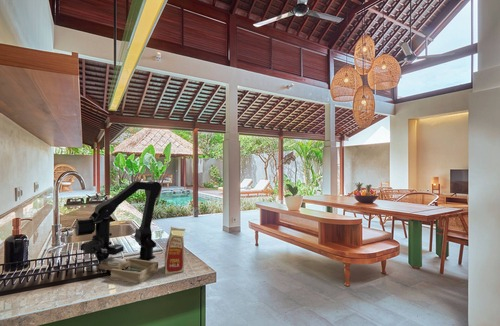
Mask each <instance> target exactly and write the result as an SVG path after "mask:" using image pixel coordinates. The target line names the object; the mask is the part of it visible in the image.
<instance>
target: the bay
mask: <svg viewBox="0 0 500 326" xmlns="http://www.w3.org/2000/svg"><path fill="white" fill-rule="evenodd" d="M129 261H131V264H130V265H129V268H128V269H132V270H138V271H141V272H137V271H130V270H119V269H111V270H110V274H111V275H110V280H116V281H122V282H126V281H127V283H132V282H133V284H139V283H140V284H142V283H143V282H145V281H146V280H147V279H149V278H150V277H151V276H153V275H154V274H156V273H157V272H158V271H159V262H158V261H152V260H149V261H146V260H139V259H137V258H130V259H129Z"/></svg>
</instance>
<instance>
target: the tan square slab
mask: <svg viewBox="0 0 500 326" xmlns="http://www.w3.org/2000/svg"><path fill="white" fill-rule="evenodd" d="M98 264H99V263H98ZM130 264H131V261H130V260H126V258H119V257H118V258H117V257H113V256H108V257H107V258H106V259H104V260H102V261H101V264H99V266H98V269H99V272H101V271H102V272H104V273H106V271H111V269H119V270H122V269H124V268H125V269H129V268H130Z"/></svg>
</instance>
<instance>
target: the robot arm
mask: <svg viewBox="0 0 500 326" xmlns="http://www.w3.org/2000/svg"><path fill="white" fill-rule="evenodd" d="M139 190H141V191H142V190H143V191H144V194H145V202H144V207H143V213H142V218H141V223H140V226H139V228H136V229H134V232H135V233H134V236H133V237H134V240H135V241H136V243H138V245H139V246H140V247H139V249H140V250H139V257H138V258H136V259H139V260H146V261H152V259H154V258H156V255H154V248H156V245H157V242H156V241H154V240H153V237H152V236H153V233H152V229H151V227H152V221H153V215H154V210H155V205H156V204H155V203H156V200H157V198H158V197H159V195H160V192H161V190H162V185H161V183H160V182H159V181H154V180H149V181H147V182H146V181H138V180H134V181H132V182H131V184H129V185H128V186H126V187H125V188H124V189H122V190H121V191H119V192H118V193H117V194H115V196H113V197H111V198H109V199H107V200H105V201H103V202H101V203H99V204H97V205H96V206H95V207H94V211H93V212H92V214H91V215H90V216H89V218H86V219H77V220H76V223H75V226H74V233H75V236H76V237H81V236H87V235H92V234H93V233H94V235H92V239H90V240H89V241H85V242H83V243H82V244H81V245H80V251H83V252H84V253H85V254H90V255H94V256H95V258H96V260H97V262H98V264H101V261H102V260H104V259H106V258H108V257H110V256H111V255H113V256H115V255H117V254H119V253H122V252H124V249H125V248H124V245H123V244H117V243H115V244H113V245H112V241H110V238H111V236H112V233H111V231H110V229H111V223H113V222H115V221H116V219H115V218H113V216H112V215H113V214H114V212H115V211H117V208H118V207H119V206H120V205H121V204H122V203H123V202H125V201H126V200H127V199H128V198H130V197H131V196H132V195H134V194H135V193H137V191H139Z"/></svg>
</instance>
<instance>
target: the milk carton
mask: <svg viewBox="0 0 500 326" xmlns="http://www.w3.org/2000/svg"><path fill="white" fill-rule="evenodd" d="M185 231H186V228H180V227H174V226H170V232H169V236H168V239H167V242H166V245H165V246H166V247H165V251H164V252H165V253H164V272H165V275H172V274H177V273H178V274H179V273H184V272H185V243H184V236H185V235H184V234H185Z"/></svg>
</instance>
